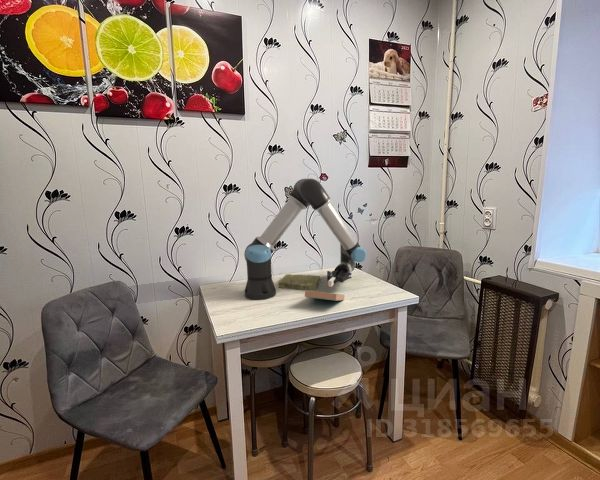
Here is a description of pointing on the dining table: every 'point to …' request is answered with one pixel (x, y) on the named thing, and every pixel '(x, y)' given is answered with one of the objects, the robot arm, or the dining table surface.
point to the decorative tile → (299, 282)
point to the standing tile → (324, 295)
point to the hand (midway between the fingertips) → (330, 283)
